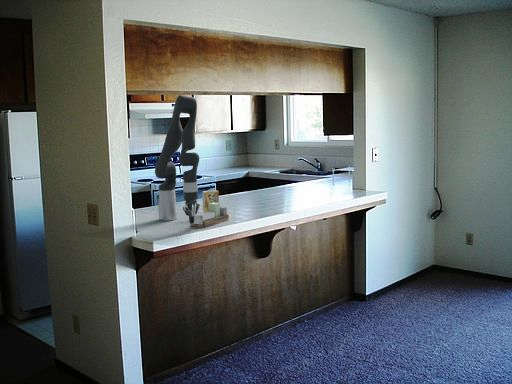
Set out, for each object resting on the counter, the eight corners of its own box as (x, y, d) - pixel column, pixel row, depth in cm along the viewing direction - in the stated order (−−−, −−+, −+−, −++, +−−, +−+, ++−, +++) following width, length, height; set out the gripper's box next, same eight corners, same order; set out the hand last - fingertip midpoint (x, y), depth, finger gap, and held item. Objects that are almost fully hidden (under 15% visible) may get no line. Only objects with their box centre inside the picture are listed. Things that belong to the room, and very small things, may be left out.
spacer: (209, 219, 339) (208, 203, 338) (213, 218, 343) (213, 202, 342) (215, 220, 337) (215, 204, 336) (220, 218, 341) (219, 203, 340)
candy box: (216, 215, 358) (215, 189, 356) (219, 216, 355) (218, 190, 353) (202, 217, 354) (201, 191, 352) (206, 218, 350) (205, 192, 348)
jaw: (192, 223, 327) (192, 214, 326) (205, 219, 337) (204, 211, 337) (202, 224, 324) (202, 215, 323) (214, 220, 334) (214, 212, 334)
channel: (190, 226, 328) (189, 213, 327) (214, 218, 349) (213, 206, 348) (205, 227, 323) (204, 214, 322) (228, 219, 344) (228, 207, 343)
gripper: (189, 192, 310) (190, 225, 313) (203, 189, 322) (204, 221, 324) (177, 192, 314) (178, 224, 316) (191, 188, 326) (193, 220, 328)
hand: (191, 223), depth 320 cm, fingers closed
